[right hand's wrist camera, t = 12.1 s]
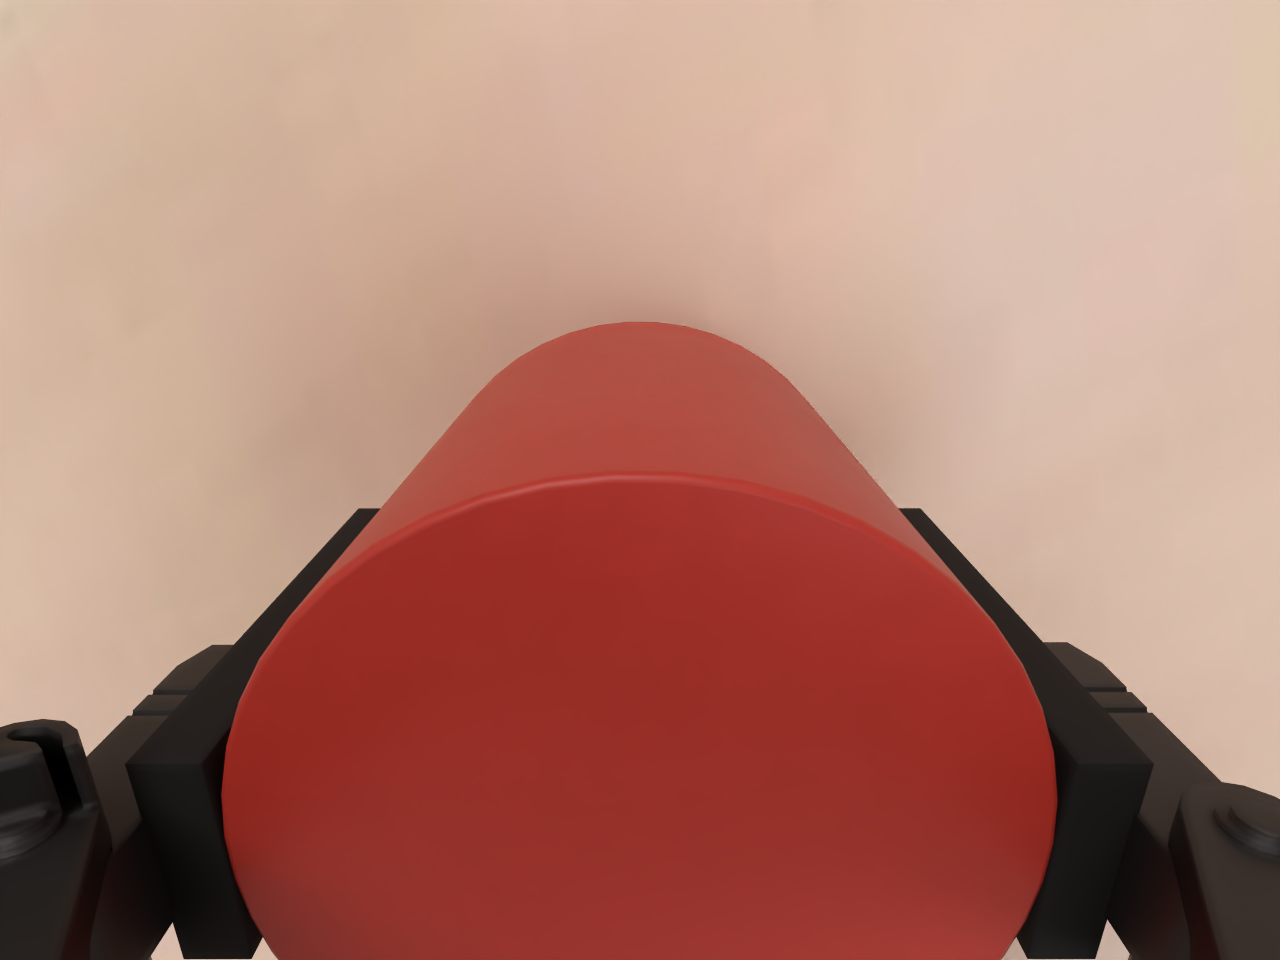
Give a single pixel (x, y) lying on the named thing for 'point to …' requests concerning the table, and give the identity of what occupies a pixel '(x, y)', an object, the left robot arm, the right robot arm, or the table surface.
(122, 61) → the table surface
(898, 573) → the canister
